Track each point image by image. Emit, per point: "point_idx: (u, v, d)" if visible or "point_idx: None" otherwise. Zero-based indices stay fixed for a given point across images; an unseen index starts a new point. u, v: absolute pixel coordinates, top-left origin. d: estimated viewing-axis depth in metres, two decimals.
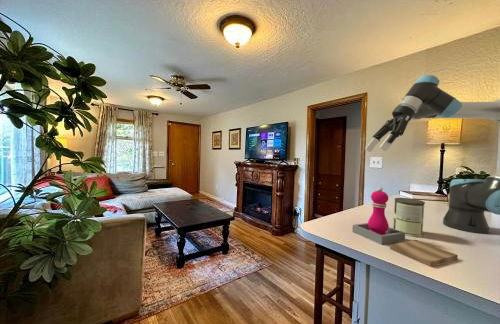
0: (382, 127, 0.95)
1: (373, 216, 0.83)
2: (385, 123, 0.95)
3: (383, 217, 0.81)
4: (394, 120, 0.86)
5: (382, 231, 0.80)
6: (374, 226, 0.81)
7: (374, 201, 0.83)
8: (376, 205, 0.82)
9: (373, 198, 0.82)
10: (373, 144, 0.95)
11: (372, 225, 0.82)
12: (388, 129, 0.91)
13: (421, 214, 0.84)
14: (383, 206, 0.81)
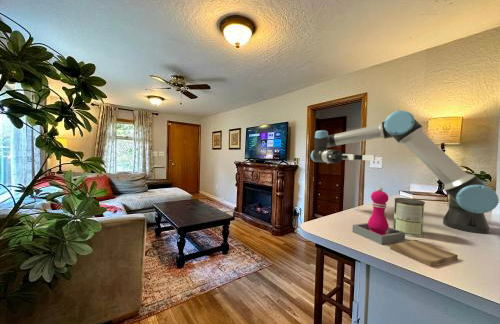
0: None
1: (373, 216, 0.83)
2: None
3: (383, 217, 0.81)
4: (338, 159, 1.10)
5: (382, 231, 0.80)
6: (374, 226, 0.81)
7: (374, 201, 0.83)
8: (376, 205, 0.82)
9: (373, 198, 0.82)
10: (367, 157, 1.03)
11: (372, 225, 0.82)
12: None
13: (421, 214, 0.84)
14: (383, 206, 0.81)
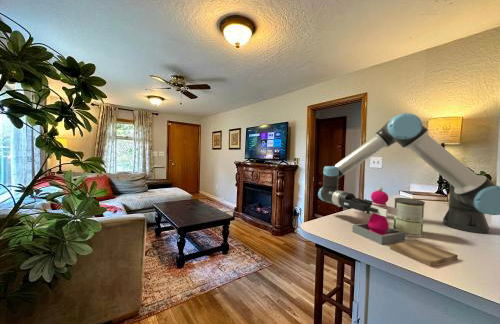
0: None
1: (373, 216, 0.83)
2: None
3: (383, 217, 0.81)
4: None
5: (382, 231, 0.80)
6: (374, 226, 0.81)
7: (374, 201, 0.83)
8: (376, 205, 0.82)
9: (373, 198, 0.82)
10: (387, 209, 0.82)
11: (372, 225, 0.82)
12: (364, 203, 0.91)
13: (421, 214, 0.84)
14: (383, 206, 0.81)
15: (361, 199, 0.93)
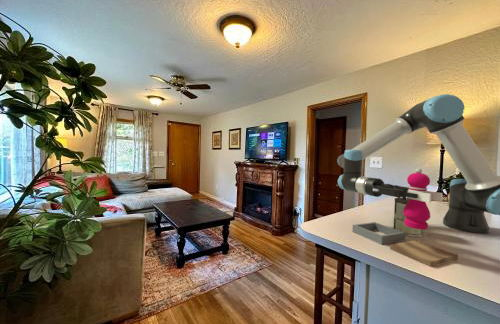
0: None
1: (411, 203, 0.69)
2: None
3: (424, 204, 0.67)
4: None
5: (423, 220, 0.67)
6: (413, 214, 0.68)
7: (412, 185, 0.69)
8: (415, 189, 0.68)
9: (411, 181, 0.69)
10: None
11: (410, 213, 0.68)
12: (397, 189, 0.78)
13: None
14: (424, 190, 0.67)
15: (392, 185, 0.80)
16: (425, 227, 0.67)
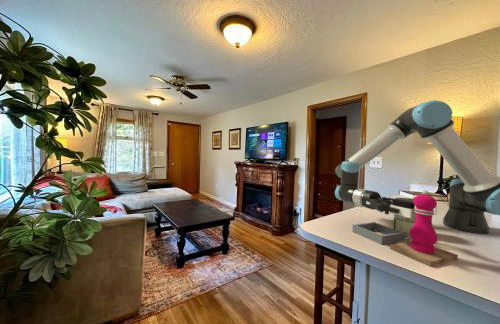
0: None
1: (417, 225, 0.68)
2: None
3: (431, 227, 0.66)
4: None
5: (430, 244, 0.66)
6: (420, 237, 0.66)
7: (419, 207, 0.68)
8: (422, 212, 0.67)
9: (417, 203, 0.68)
10: None
11: (417, 236, 0.67)
12: (394, 202, 0.80)
13: None
14: (431, 213, 0.66)
15: (388, 198, 0.82)
16: (432, 251, 0.66)
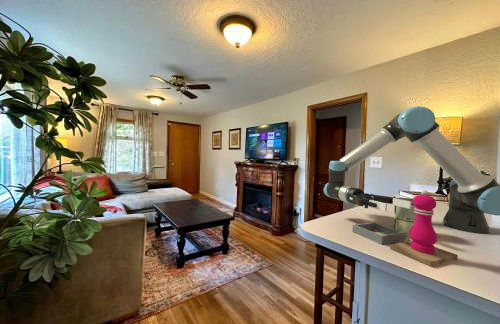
0: None
1: (417, 225, 0.68)
2: None
3: (431, 227, 0.66)
4: None
5: (430, 244, 0.66)
6: (420, 237, 0.66)
7: (418, 207, 0.68)
8: (421, 212, 0.67)
9: (417, 203, 0.68)
10: (400, 202, 0.81)
11: (417, 237, 0.67)
12: (375, 198, 0.88)
13: None
14: (431, 213, 0.66)
15: (370, 194, 0.89)
16: (432, 251, 0.66)
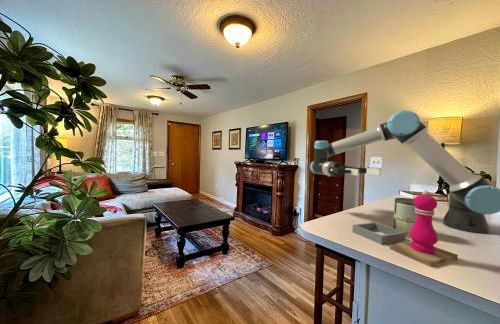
0: None
1: (418, 225, 0.68)
2: None
3: (431, 227, 0.66)
4: None
5: (430, 244, 0.66)
6: (420, 237, 0.66)
7: (419, 207, 0.68)
8: (422, 212, 0.67)
9: (418, 204, 0.67)
10: (372, 171, 0.95)
11: (417, 237, 0.67)
12: None
13: None
14: (431, 213, 0.66)
15: None
16: (432, 251, 0.66)
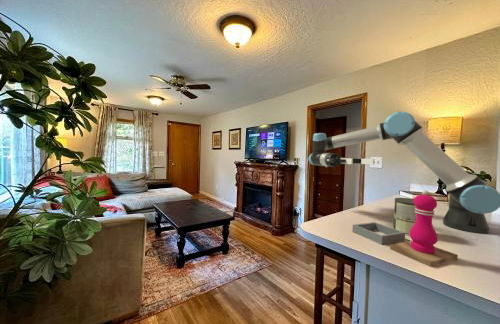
0: None
1: (418, 225, 0.68)
2: None
3: (431, 227, 0.66)
4: None
5: (430, 244, 0.66)
6: (420, 237, 0.66)
7: (419, 207, 0.68)
8: (422, 212, 0.67)
9: (418, 204, 0.67)
10: (366, 161, 1.01)
11: (417, 237, 0.67)
12: None
13: None
14: (431, 213, 0.66)
15: (344, 157, 1.08)
16: (432, 251, 0.66)
